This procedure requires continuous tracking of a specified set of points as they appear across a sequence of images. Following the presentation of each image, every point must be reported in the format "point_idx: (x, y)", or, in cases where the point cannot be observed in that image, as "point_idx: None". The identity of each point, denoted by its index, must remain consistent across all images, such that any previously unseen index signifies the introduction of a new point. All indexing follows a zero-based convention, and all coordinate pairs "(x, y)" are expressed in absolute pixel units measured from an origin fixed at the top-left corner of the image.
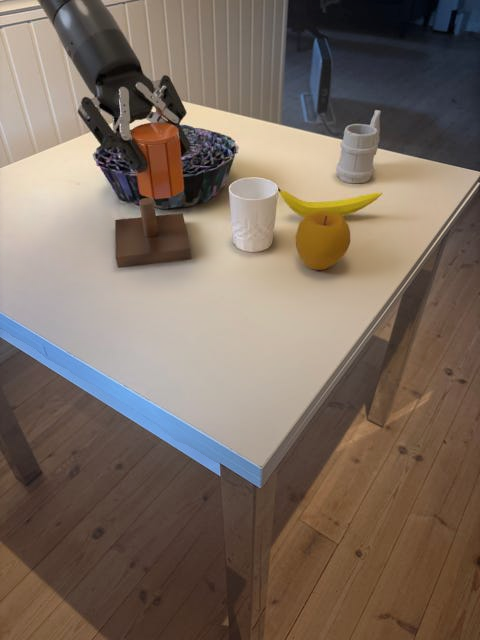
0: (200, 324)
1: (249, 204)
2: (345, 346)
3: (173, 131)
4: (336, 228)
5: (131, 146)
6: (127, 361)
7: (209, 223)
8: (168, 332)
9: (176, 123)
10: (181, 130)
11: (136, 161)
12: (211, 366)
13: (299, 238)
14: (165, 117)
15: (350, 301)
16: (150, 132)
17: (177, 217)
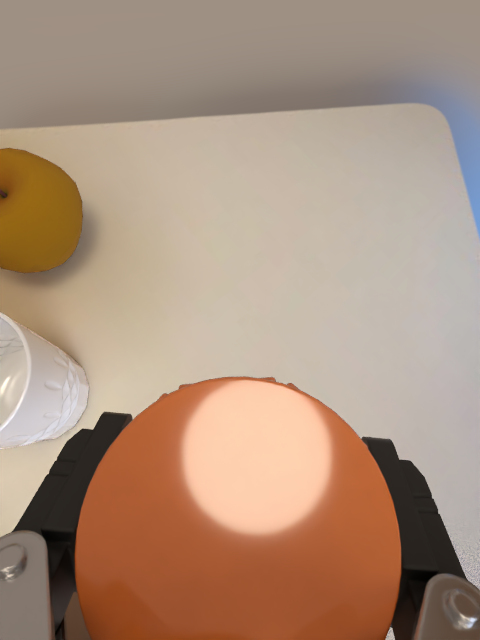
0: (322, 302)
1: (33, 343)
2: (217, 119)
3: (169, 425)
4: (13, 153)
5: (425, 541)
6: (467, 332)
7: None
8: (374, 330)
9: (31, 535)
10: (39, 501)
11: (412, 477)
12: (377, 229)
13: (58, 230)
14: (52, 615)
15: (119, 157)
16: (273, 540)
17: (72, 614)
